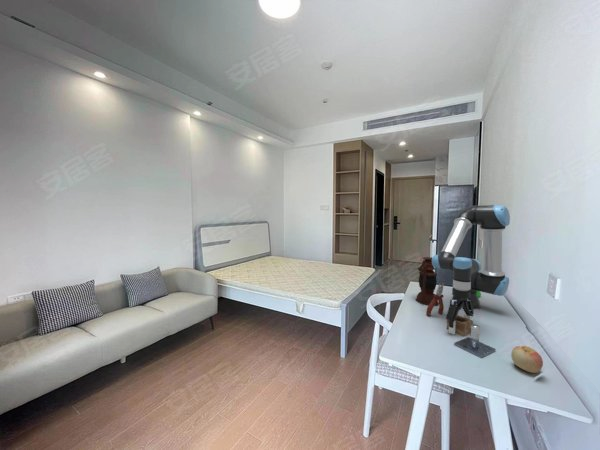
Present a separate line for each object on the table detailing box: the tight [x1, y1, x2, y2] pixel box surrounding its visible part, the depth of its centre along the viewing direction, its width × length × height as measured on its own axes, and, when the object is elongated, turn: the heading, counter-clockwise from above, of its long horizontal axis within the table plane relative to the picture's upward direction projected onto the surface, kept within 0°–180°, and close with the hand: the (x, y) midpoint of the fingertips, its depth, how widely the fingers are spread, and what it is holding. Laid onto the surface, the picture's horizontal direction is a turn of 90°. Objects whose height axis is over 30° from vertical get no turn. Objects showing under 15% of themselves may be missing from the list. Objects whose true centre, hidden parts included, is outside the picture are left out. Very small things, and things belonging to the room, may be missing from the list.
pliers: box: [426, 282, 445, 317], centre depth 138 cm, size 11×20×3 cm
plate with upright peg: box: [453, 323, 496, 359], centre depth 106 cm, size 11×11×10 cm
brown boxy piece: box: [446, 314, 474, 337], centre depth 122 cm, size 8×8×6 cm
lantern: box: [415, 256, 439, 307], centre depth 158 cm, size 17×14×30 cm
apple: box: [510, 345, 544, 374], centre depth 92 cm, size 9×9×8 cm
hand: (459, 330), depth 122 cm, fingers open, 12 cm apart
